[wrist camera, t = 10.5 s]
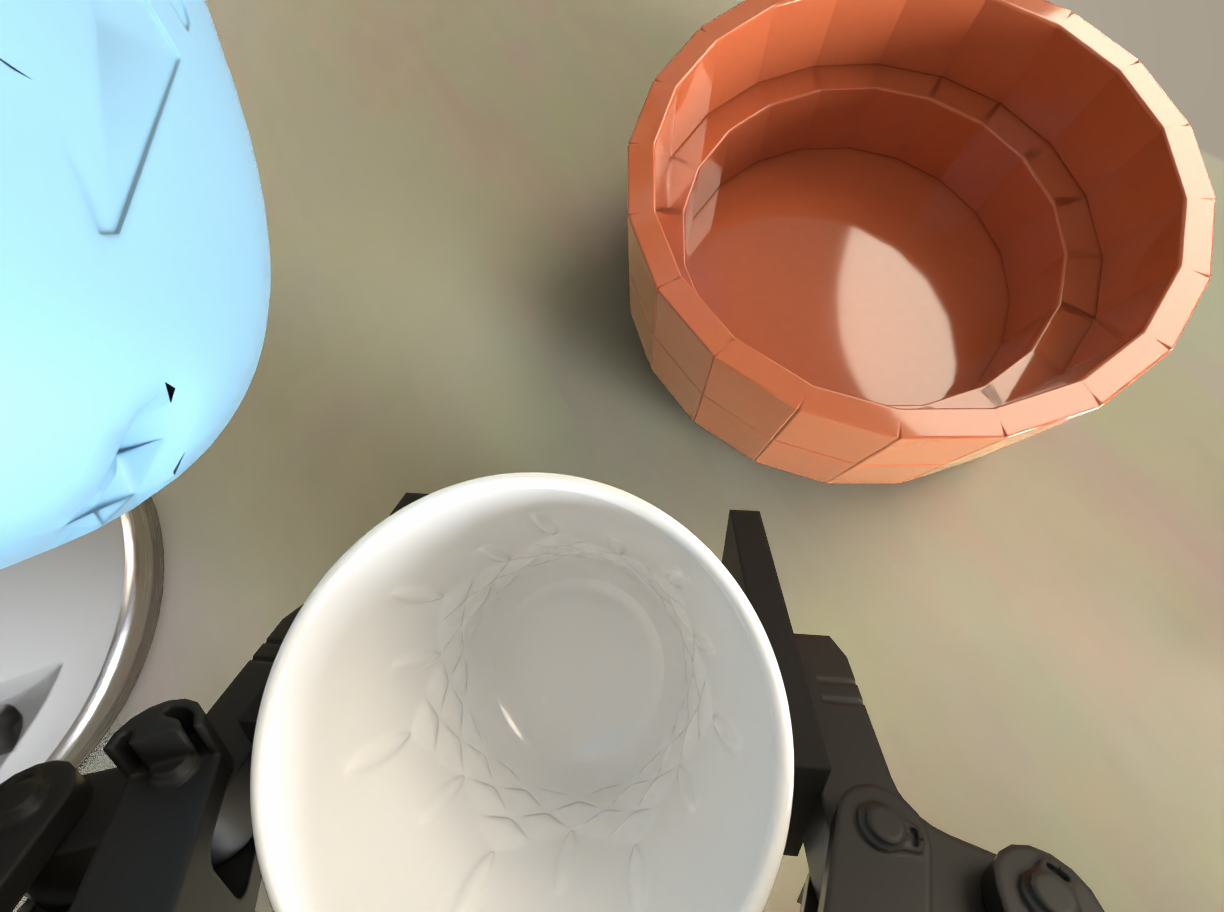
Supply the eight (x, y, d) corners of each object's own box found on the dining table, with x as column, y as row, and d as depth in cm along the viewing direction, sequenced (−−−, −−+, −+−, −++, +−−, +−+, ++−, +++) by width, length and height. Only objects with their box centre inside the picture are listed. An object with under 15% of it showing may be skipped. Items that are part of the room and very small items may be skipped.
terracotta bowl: (711, 546, 18) (746, 522, 12) (582, 190, 22) (562, 46, 16) (1128, 410, 19) (1350, 327, 13) (927, 87, 23) (1026, -88, 17)
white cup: (532, 845, 16) (368, 1236, 6) (428, 609, 18) (180, 625, 8) (752, 709, 17) (914, 870, 7) (629, 496, 18) (620, 388, 9)
